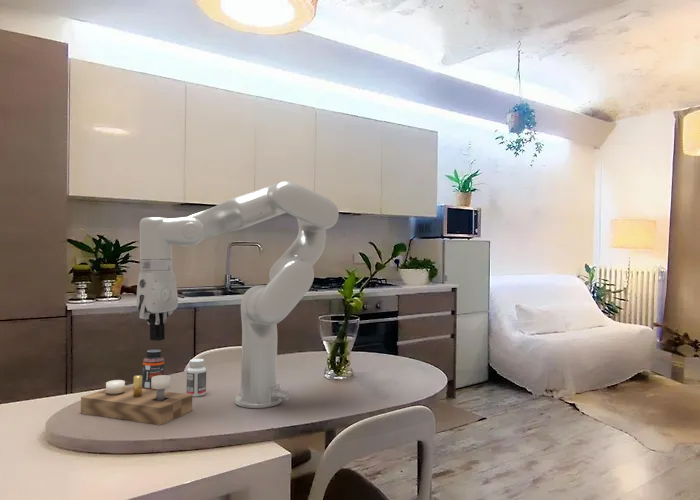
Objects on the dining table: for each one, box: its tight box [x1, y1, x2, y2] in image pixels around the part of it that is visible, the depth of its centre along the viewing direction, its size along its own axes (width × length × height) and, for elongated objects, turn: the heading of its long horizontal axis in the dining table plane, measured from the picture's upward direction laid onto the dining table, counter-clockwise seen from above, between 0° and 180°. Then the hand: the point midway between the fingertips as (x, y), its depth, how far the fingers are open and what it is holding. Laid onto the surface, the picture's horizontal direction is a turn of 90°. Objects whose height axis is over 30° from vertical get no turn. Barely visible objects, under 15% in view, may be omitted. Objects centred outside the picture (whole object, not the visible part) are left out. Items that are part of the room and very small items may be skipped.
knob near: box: [151, 374, 171, 401], centre depth 126 cm, size 4×4×6 cm
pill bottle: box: [186, 358, 207, 398], centre depth 145 cm, size 5×5×10 cm
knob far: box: [105, 379, 126, 395], centre depth 130 cm, size 4×4×6 cm
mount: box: [80, 386, 193, 426], centre depth 128 cm, size 24×12×4 cm, turn 72°
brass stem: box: [133, 374, 142, 397], centre depth 128 cm, size 2×2×5 cm
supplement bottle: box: [142, 349, 165, 390], centre depth 150 cm, size 6×6×11 cm
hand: (157, 339), depth 127 cm, fingers closed
